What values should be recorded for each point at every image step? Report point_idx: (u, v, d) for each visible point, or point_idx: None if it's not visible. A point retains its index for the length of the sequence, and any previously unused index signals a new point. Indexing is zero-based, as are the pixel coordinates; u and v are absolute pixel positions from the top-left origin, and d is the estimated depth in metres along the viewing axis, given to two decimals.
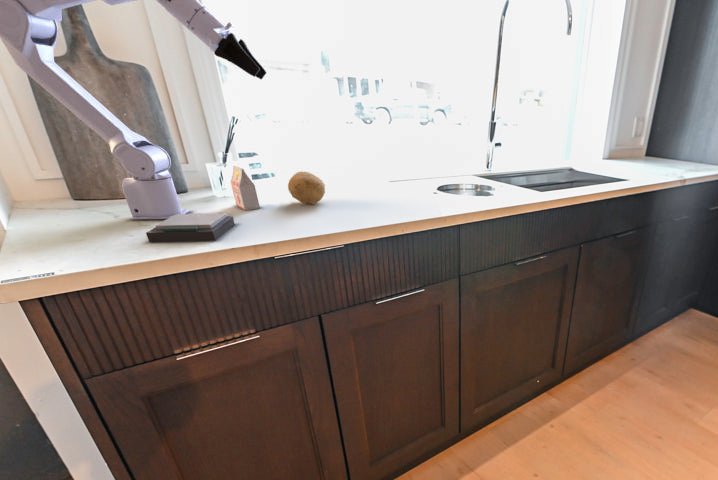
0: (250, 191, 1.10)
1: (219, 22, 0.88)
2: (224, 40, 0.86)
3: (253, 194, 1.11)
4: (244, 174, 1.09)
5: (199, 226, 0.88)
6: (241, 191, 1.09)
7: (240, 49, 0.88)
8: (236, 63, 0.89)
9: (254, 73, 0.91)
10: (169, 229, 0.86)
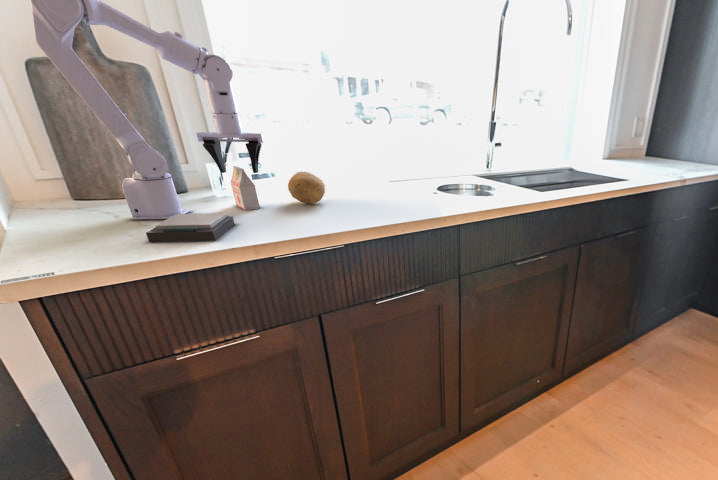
0: (250, 191, 1.10)
1: None
2: (260, 143, 1.09)
3: (253, 194, 1.11)
4: (244, 174, 1.09)
5: (199, 226, 0.88)
6: (241, 191, 1.09)
7: (258, 154, 1.10)
8: None
9: (256, 171, 1.11)
10: (169, 229, 0.86)
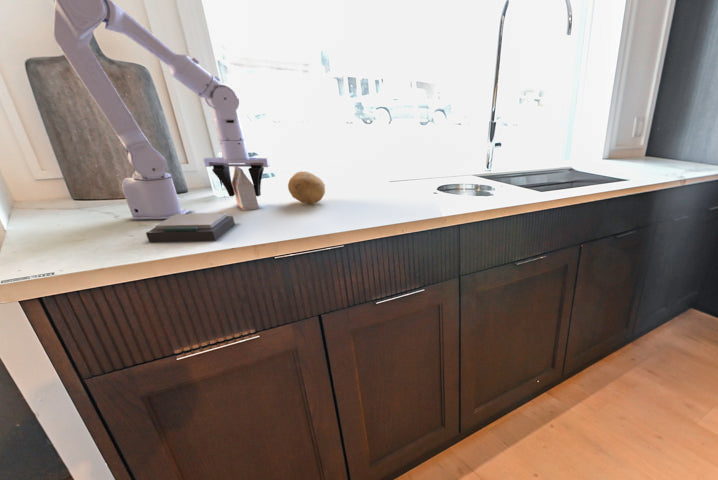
0: (249, 191, 1.10)
1: None
2: (262, 167, 1.11)
3: (251, 194, 1.11)
4: (243, 174, 1.08)
5: (199, 226, 0.88)
6: (239, 191, 1.09)
7: (261, 177, 1.13)
8: None
9: (259, 194, 1.13)
10: (169, 229, 0.86)
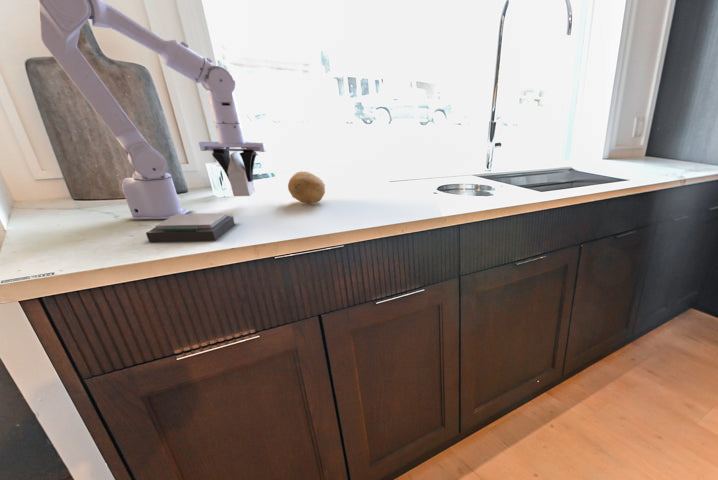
0: (239, 177, 1.08)
1: None
2: (254, 152, 1.09)
3: (242, 181, 1.08)
4: (234, 160, 1.06)
5: (199, 226, 0.88)
6: (229, 177, 1.07)
7: (253, 163, 1.11)
8: None
9: (251, 180, 1.11)
10: (169, 229, 0.86)
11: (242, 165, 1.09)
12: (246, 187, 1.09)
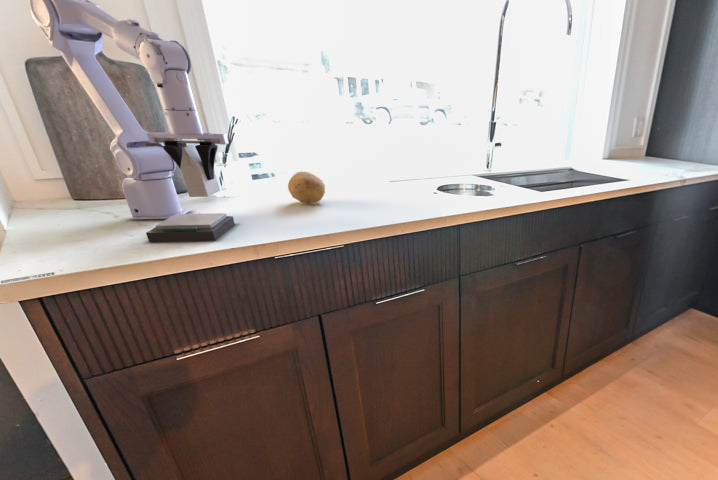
0: (194, 175, 0.91)
1: None
2: (214, 145, 0.92)
3: (198, 179, 0.91)
4: (187, 154, 0.89)
5: (199, 226, 0.88)
6: (183, 174, 0.90)
7: (214, 158, 0.94)
8: None
9: (211, 178, 0.94)
10: (169, 229, 0.86)
11: (200, 160, 0.92)
12: (203, 186, 0.92)
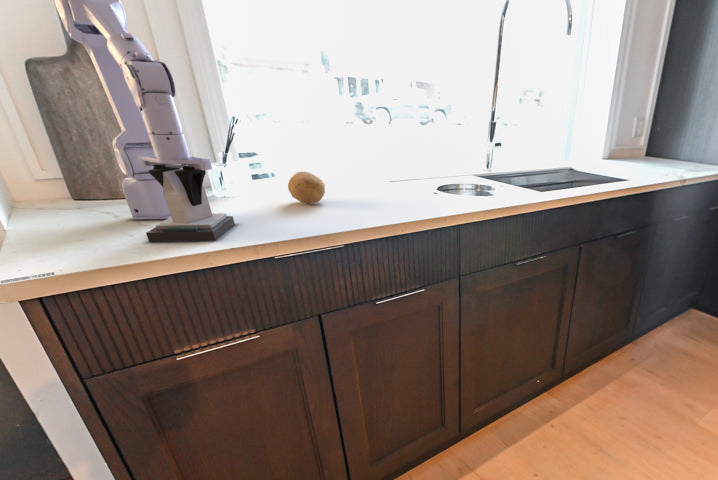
0: (175, 200, 0.87)
1: None
2: (199, 170, 0.87)
3: (178, 204, 0.87)
4: None
5: (199, 226, 0.88)
6: (166, 199, 0.87)
7: (201, 183, 0.89)
8: (190, 188, 0.87)
9: (196, 204, 0.89)
10: (169, 229, 0.86)
11: None
12: (184, 212, 0.88)
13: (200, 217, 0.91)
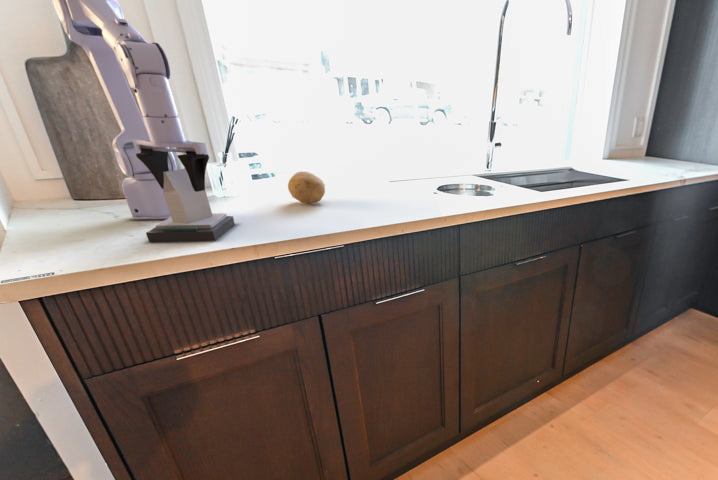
0: (175, 200, 0.87)
1: None
2: (202, 155, 0.85)
3: (179, 204, 0.87)
4: None
5: (199, 226, 0.88)
6: (166, 199, 0.87)
7: (204, 168, 0.87)
8: (194, 174, 0.85)
9: (199, 189, 0.88)
10: (169, 229, 0.86)
11: (185, 185, 0.88)
12: (184, 212, 0.88)
13: (200, 217, 0.91)
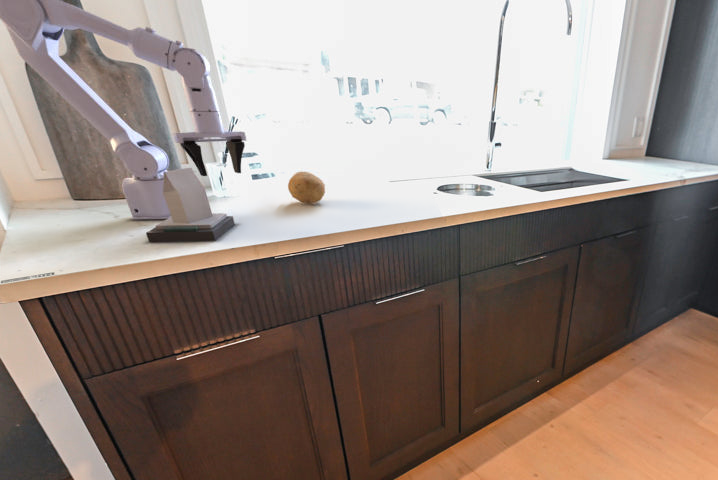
0: (175, 200, 0.87)
1: None
2: None
3: (179, 204, 0.87)
4: None
5: (199, 226, 0.88)
6: (166, 199, 0.87)
7: None
8: None
9: None
10: (169, 229, 0.86)
11: (185, 185, 0.88)
12: (184, 212, 0.88)
13: (200, 217, 0.91)
